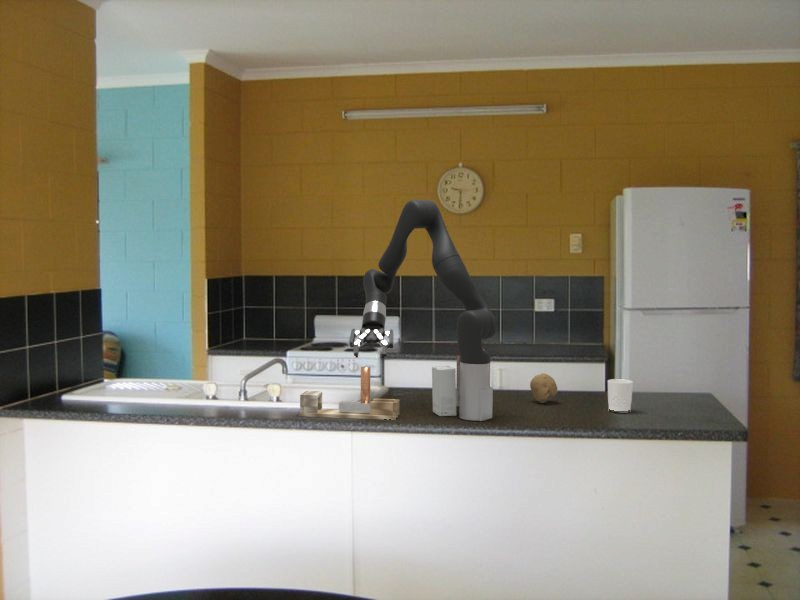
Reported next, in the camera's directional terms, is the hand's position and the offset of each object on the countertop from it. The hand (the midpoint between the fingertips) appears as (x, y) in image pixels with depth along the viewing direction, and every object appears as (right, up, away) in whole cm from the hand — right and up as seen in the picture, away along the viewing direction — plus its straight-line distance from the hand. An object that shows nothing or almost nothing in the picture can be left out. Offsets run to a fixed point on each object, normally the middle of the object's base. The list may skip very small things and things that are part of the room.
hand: (369, 356), depth 259 cm
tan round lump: (+59, -17, +16) cm, 63 cm away
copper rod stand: (-1, -17, -9) cm, 19 cm away
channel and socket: (-6, -18, -8) cm, 20 cm away
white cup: (+80, -18, +2) cm, 82 cm away
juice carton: (+33, -17, +9) cm, 38 cm away
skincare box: (+23, -18, -4) cm, 30 cm away
